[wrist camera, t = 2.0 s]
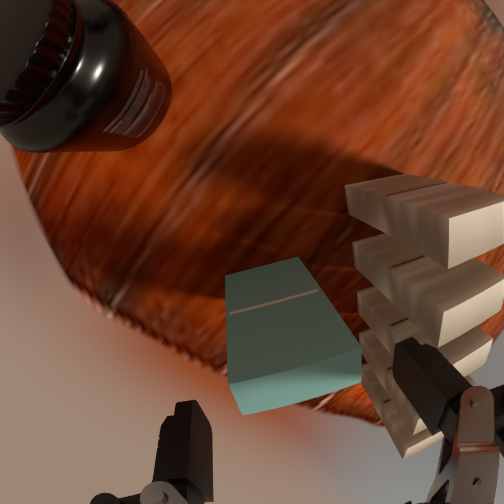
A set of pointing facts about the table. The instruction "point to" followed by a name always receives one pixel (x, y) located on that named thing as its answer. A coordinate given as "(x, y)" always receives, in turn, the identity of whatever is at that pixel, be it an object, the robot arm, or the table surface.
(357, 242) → the domino
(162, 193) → the table surface
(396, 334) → the domino
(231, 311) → the domino
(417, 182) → the domino
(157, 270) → the table surface
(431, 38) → the table surface
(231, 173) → the table surface
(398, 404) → the domino
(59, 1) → the supplement bottle
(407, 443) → the domino
